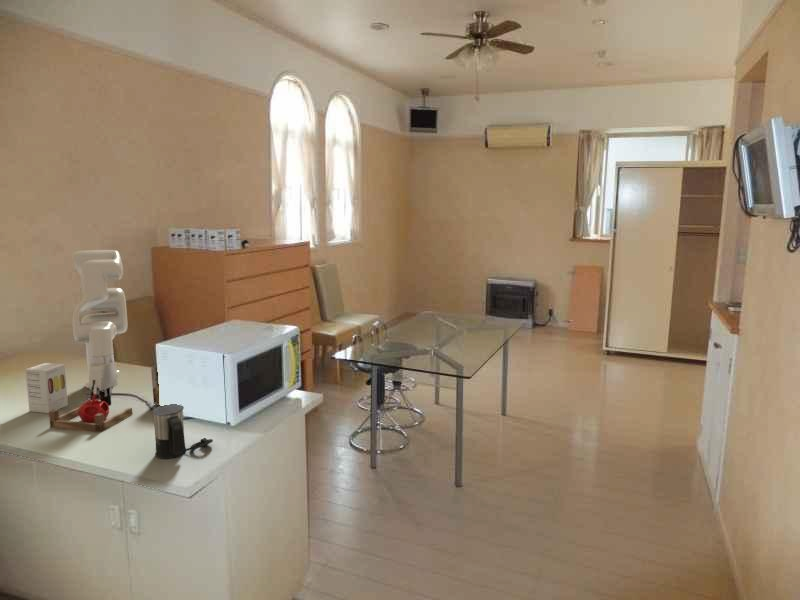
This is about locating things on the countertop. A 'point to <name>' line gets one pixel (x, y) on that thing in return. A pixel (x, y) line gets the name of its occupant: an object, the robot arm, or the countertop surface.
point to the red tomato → (93, 410)
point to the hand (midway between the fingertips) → (106, 405)
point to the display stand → (98, 426)
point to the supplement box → (46, 387)
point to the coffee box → (155, 384)
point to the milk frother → (171, 432)
